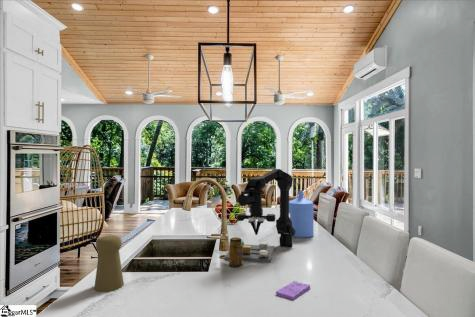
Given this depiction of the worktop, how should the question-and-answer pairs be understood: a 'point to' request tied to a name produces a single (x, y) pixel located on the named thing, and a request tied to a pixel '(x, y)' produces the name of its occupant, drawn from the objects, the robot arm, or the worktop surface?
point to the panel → (255, 254)
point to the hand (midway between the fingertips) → (256, 234)
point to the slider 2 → (263, 246)
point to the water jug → (301, 216)
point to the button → (263, 253)
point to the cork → (108, 264)
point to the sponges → (293, 290)
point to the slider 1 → (246, 249)
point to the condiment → (235, 254)
